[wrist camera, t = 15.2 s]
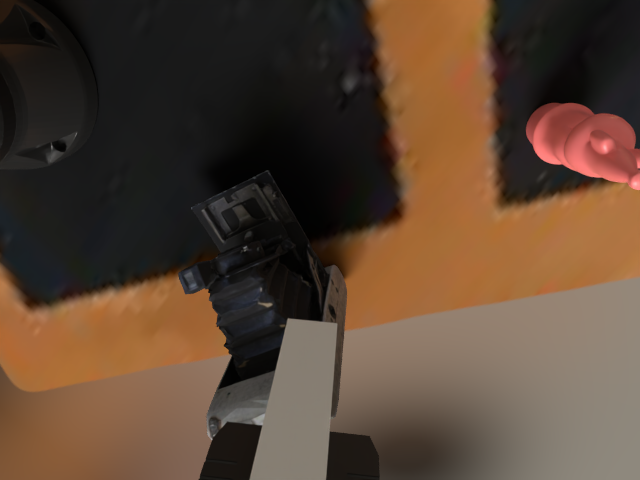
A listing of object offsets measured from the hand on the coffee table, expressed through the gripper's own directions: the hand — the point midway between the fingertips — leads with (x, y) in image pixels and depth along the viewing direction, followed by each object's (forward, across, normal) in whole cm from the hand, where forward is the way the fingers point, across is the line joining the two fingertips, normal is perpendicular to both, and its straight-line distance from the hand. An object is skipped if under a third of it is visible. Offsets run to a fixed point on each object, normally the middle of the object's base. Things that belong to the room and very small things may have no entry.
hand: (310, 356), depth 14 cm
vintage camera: (+31, -6, -12) cm, 34 cm away
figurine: (+31, +18, +2) cm, 36 cm away
